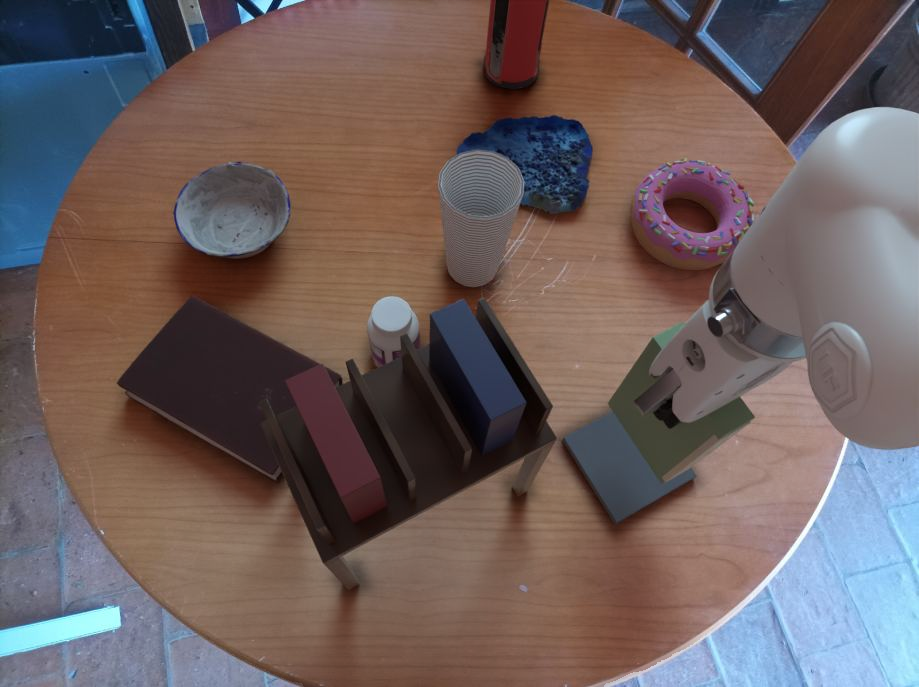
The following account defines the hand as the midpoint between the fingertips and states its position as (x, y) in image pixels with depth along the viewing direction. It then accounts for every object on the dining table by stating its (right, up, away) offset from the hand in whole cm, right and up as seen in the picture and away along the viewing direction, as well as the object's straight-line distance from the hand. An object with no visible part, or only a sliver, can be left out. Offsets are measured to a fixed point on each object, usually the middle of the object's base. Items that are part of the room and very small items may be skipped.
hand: (679, 401), depth 58 cm
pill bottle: (-25, +4, +19) cm, 32 cm away
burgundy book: (-27, -4, -4) cm, 28 cm away
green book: (0, -4, +9) cm, 10 cm away
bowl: (-44, +18, +26) cm, 54 cm away
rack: (-23, -10, +13) cm, 28 cm away
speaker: (-11, +42, +38) cm, 58 cm away
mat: (-1, -7, +15) cm, 17 cm away
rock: (-10, +27, +31) cm, 43 cm away
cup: (-17, +14, +25) cm, 33 cm away
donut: (+9, +19, +28) cm, 35 cm away
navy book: (-17, 0, -2) cm, 18 cm away
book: (-42, 0, +17) cm, 45 cm away
